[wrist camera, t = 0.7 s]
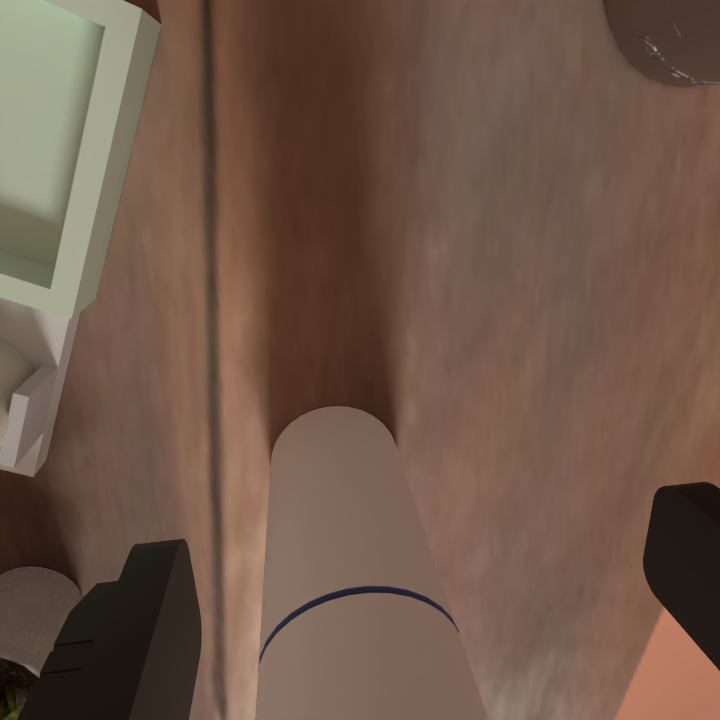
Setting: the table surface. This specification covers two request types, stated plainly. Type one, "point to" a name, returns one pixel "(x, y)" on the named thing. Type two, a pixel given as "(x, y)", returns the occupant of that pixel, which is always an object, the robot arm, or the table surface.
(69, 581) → the house plant
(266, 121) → the table surface
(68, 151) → the tray
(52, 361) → the block
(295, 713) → the cylindrical container
